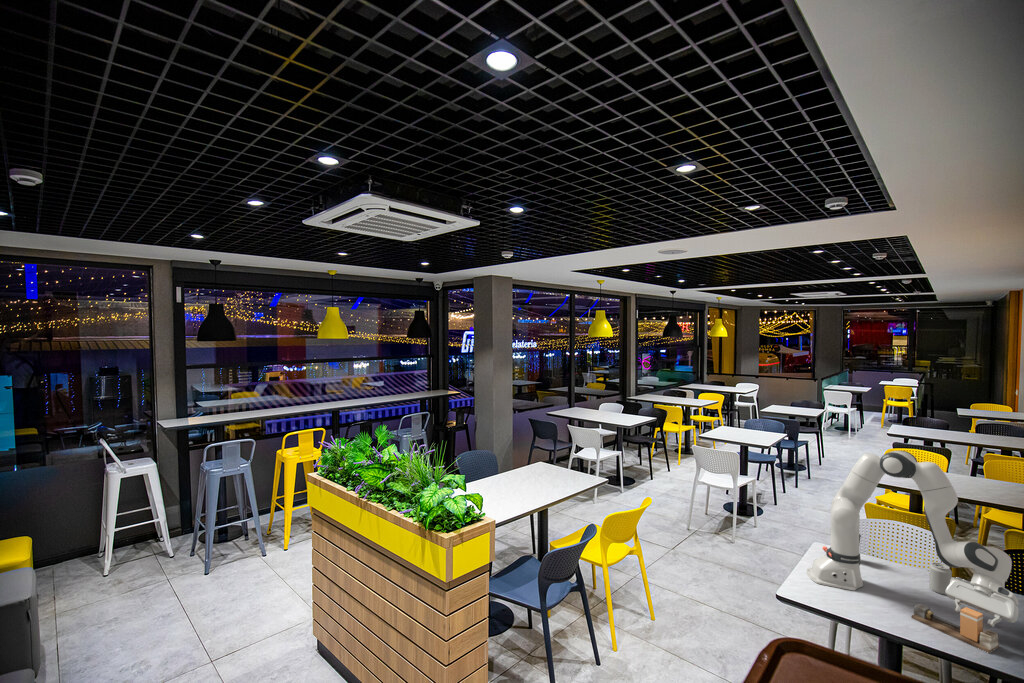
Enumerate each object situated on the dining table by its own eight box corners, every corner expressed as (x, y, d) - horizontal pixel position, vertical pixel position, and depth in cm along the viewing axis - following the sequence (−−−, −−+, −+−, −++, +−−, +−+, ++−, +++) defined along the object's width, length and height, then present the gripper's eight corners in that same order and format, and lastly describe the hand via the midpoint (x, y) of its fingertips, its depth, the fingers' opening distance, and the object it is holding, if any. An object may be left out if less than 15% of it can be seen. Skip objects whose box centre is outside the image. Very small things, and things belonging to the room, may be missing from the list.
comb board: (911, 617, 195) (911, 604, 195) (921, 612, 198) (921, 599, 198) (988, 653, 173) (989, 638, 173) (999, 647, 176) (999, 632, 176)
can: (942, 587, 218) (942, 561, 218) (956, 596, 211) (956, 569, 210) (925, 586, 219) (925, 560, 218) (938, 595, 211) (938, 568, 211)
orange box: (960, 634, 182) (960, 609, 182) (965, 631, 184) (966, 606, 184) (977, 642, 177) (977, 616, 177) (982, 638, 179) (983, 613, 179)
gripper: (949, 571, 194) (937, 600, 190) (1019, 596, 175) (1007, 629, 171) (955, 579, 196) (943, 608, 192) (1024, 604, 177) (1012, 637, 173)
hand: (973, 618), depth 181 cm, fingers open, 8 cm apart
